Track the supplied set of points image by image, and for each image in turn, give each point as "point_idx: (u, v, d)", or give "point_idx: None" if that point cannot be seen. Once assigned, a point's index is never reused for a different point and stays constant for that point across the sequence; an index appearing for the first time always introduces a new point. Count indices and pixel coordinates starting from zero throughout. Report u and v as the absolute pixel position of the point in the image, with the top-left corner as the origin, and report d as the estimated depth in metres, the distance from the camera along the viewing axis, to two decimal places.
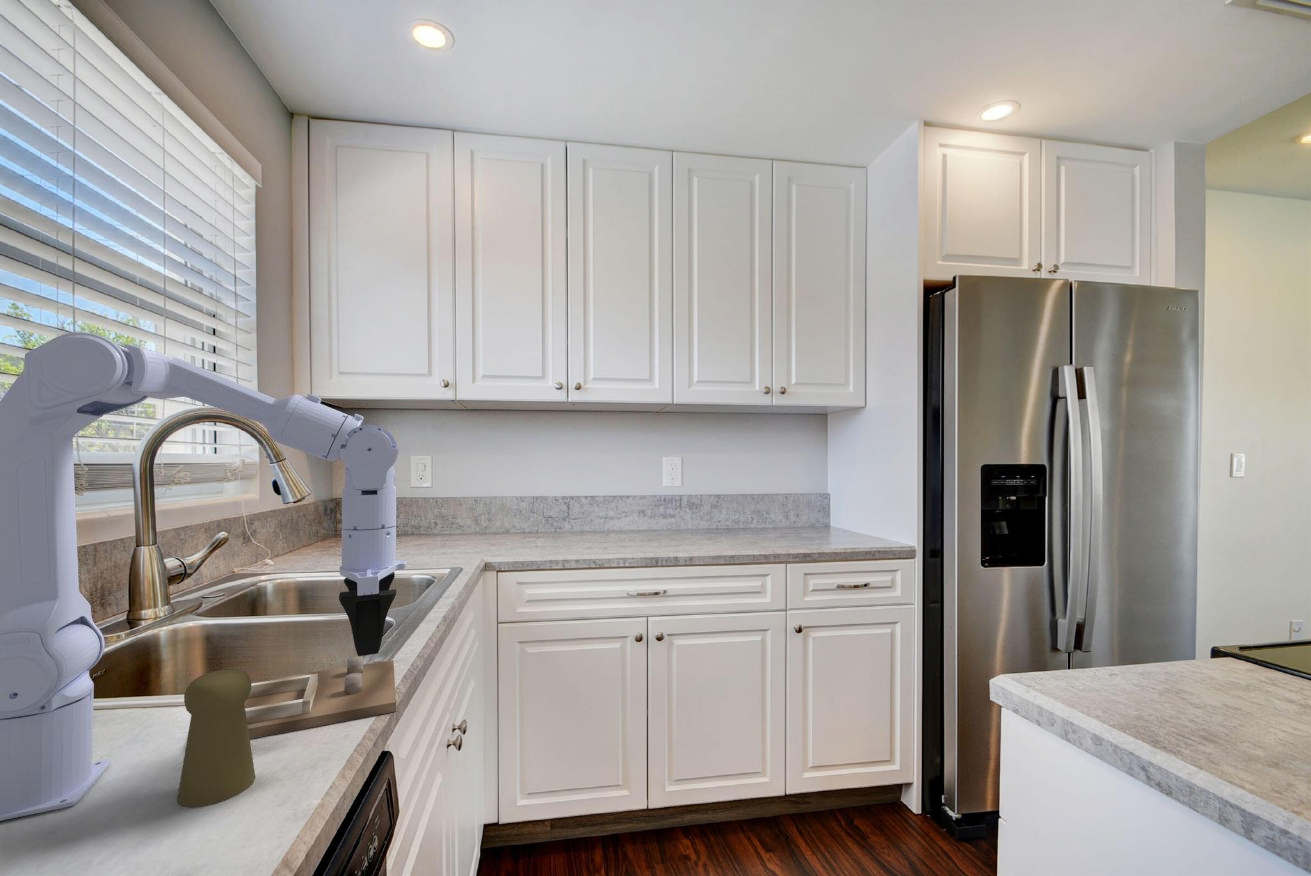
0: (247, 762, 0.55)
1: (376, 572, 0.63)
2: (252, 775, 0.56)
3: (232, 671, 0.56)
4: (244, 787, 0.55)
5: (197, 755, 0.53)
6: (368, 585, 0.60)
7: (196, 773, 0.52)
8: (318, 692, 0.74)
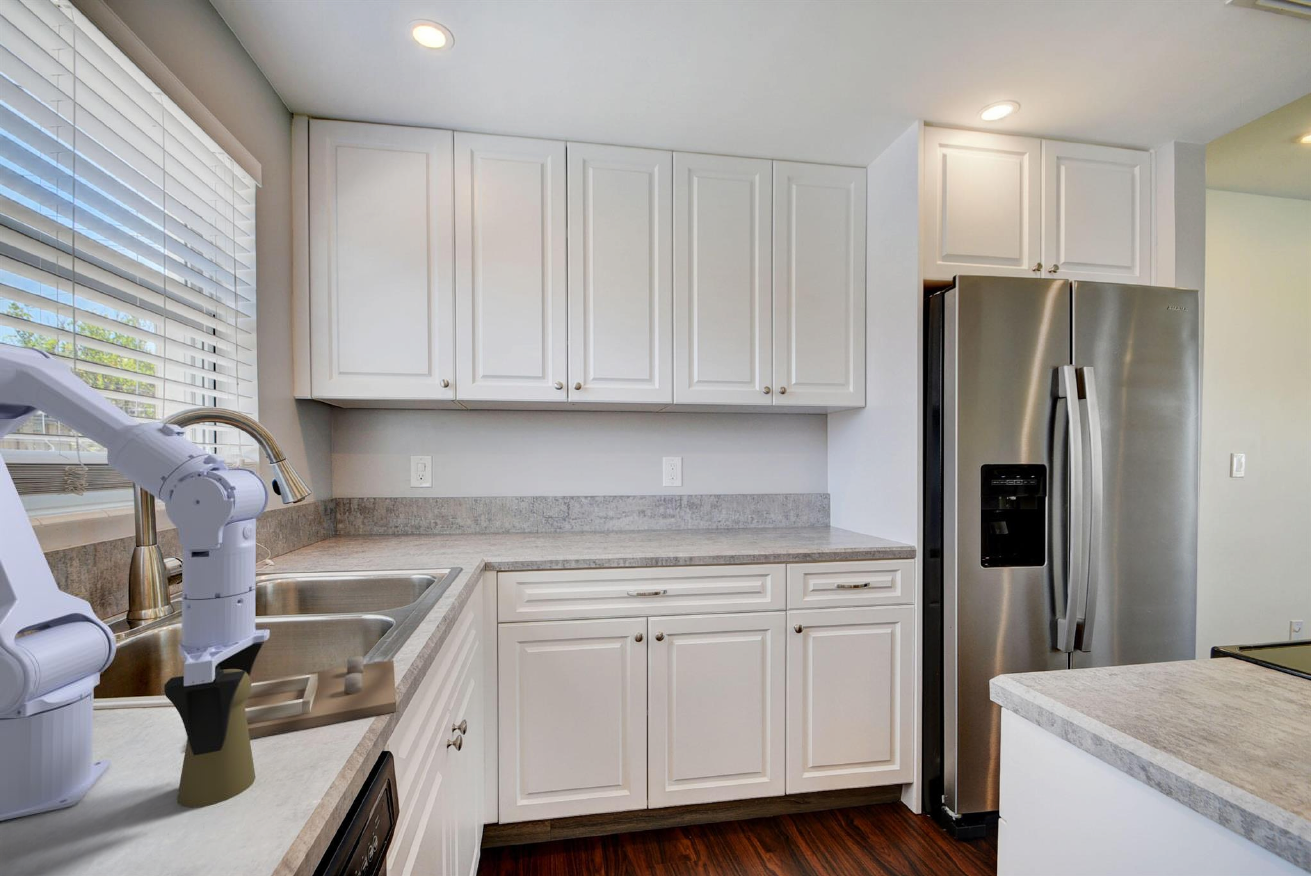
0: (247, 762, 0.55)
1: (217, 652, 0.52)
2: (252, 775, 0.56)
3: (232, 671, 0.56)
4: (244, 787, 0.55)
5: (197, 755, 0.53)
6: (198, 672, 0.49)
7: (196, 773, 0.52)
8: (318, 692, 0.74)
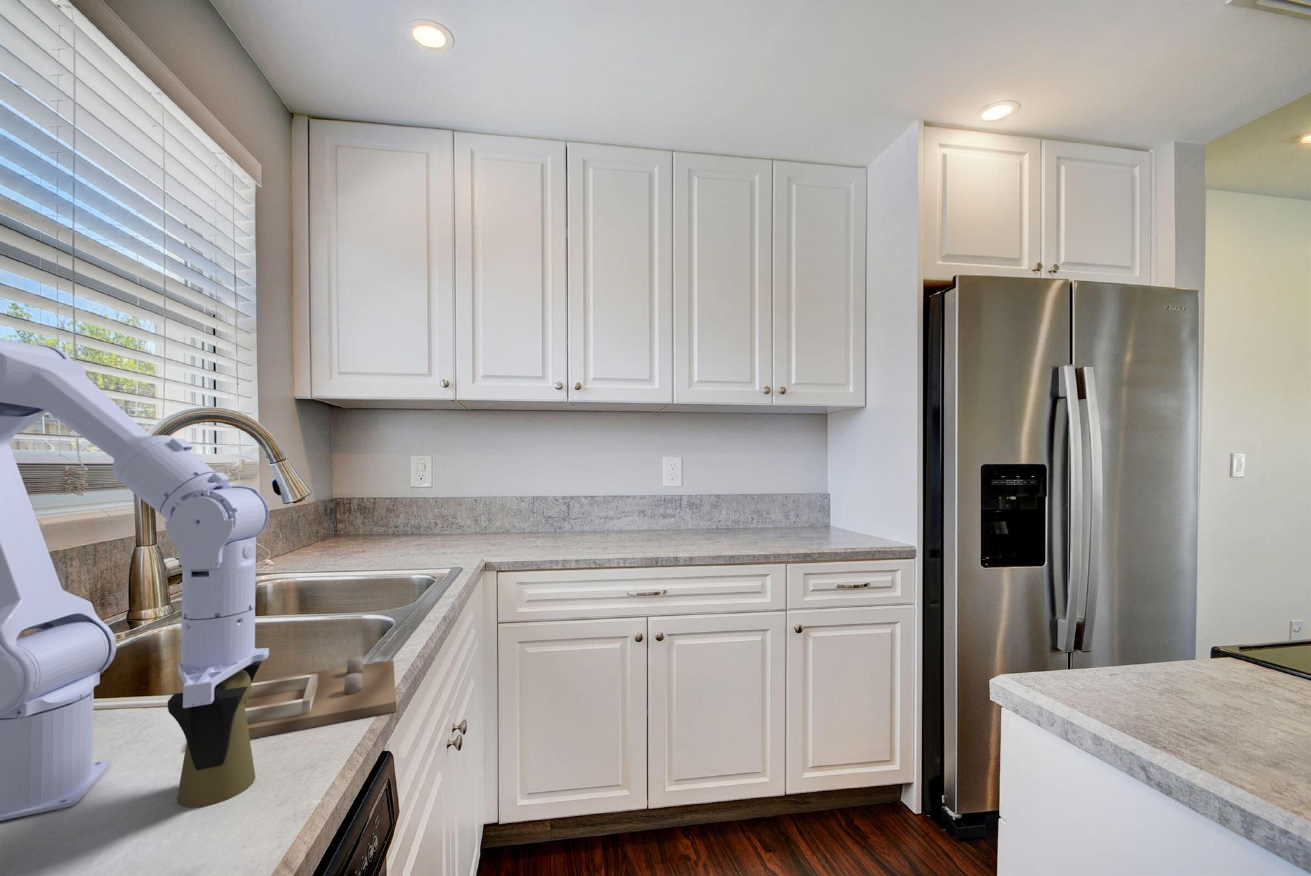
0: (247, 761, 0.55)
1: (216, 673, 0.51)
2: (252, 775, 0.56)
3: None
4: (244, 787, 0.55)
5: None
6: (198, 694, 0.49)
7: (196, 773, 0.52)
8: (318, 692, 0.74)
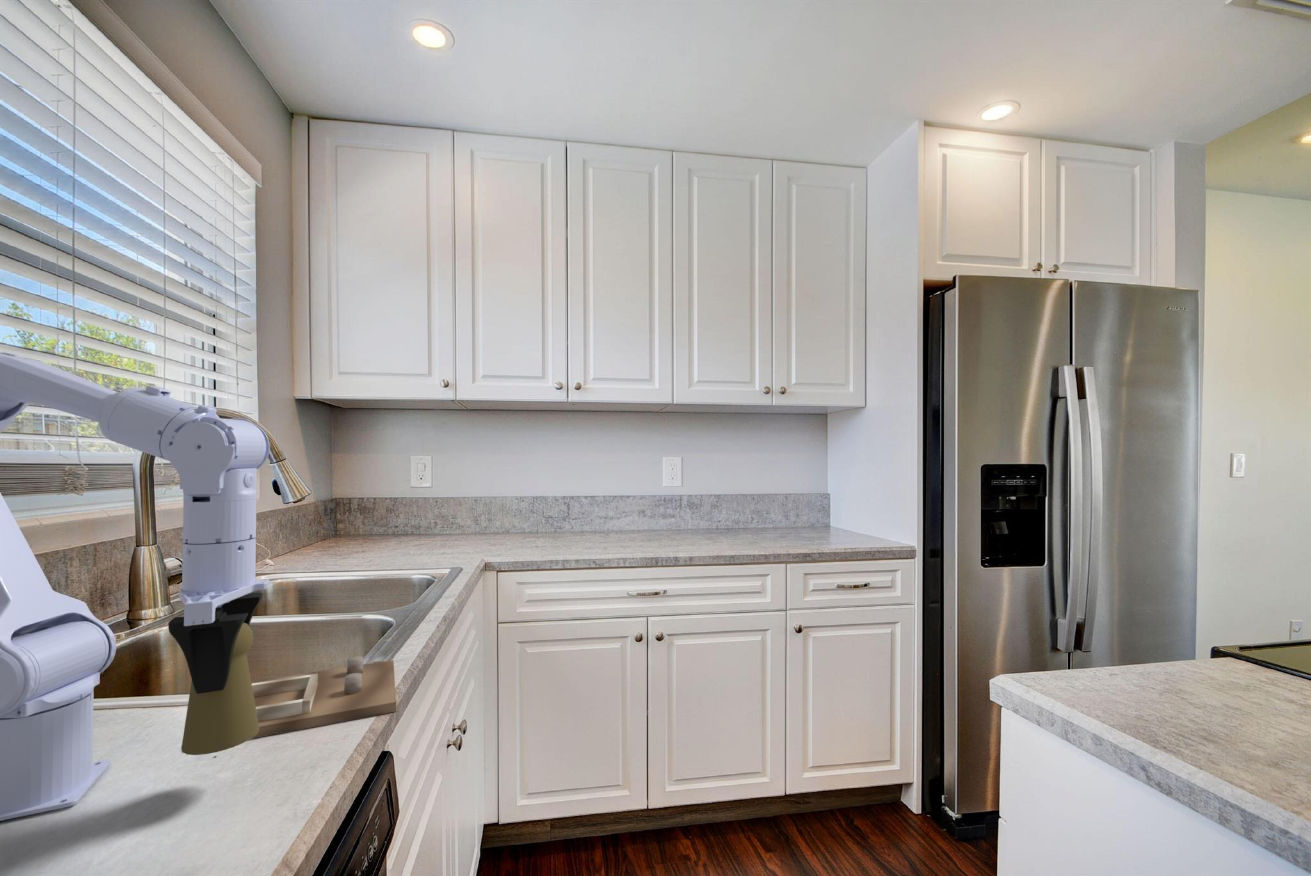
0: (250, 712, 0.56)
1: (217, 596, 0.52)
2: (256, 726, 0.56)
3: None
4: (249, 736, 0.55)
5: (201, 704, 0.53)
6: (198, 613, 0.49)
7: (200, 721, 0.53)
8: (318, 692, 0.74)
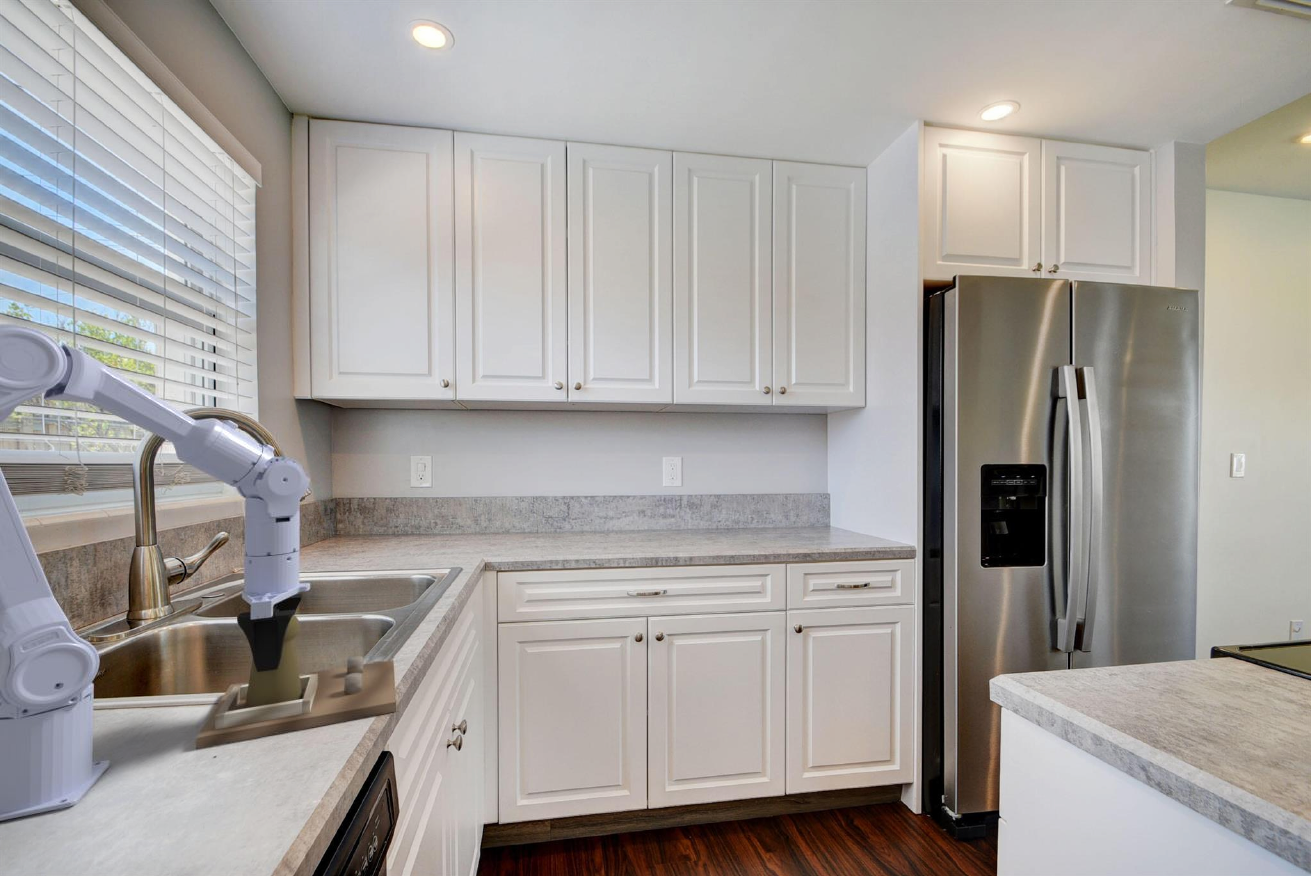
0: (297, 684, 0.71)
1: (273, 596, 0.67)
2: (301, 695, 0.71)
3: None
4: None
5: (261, 676, 0.68)
6: (261, 609, 0.64)
7: (260, 690, 0.68)
8: (318, 692, 0.74)
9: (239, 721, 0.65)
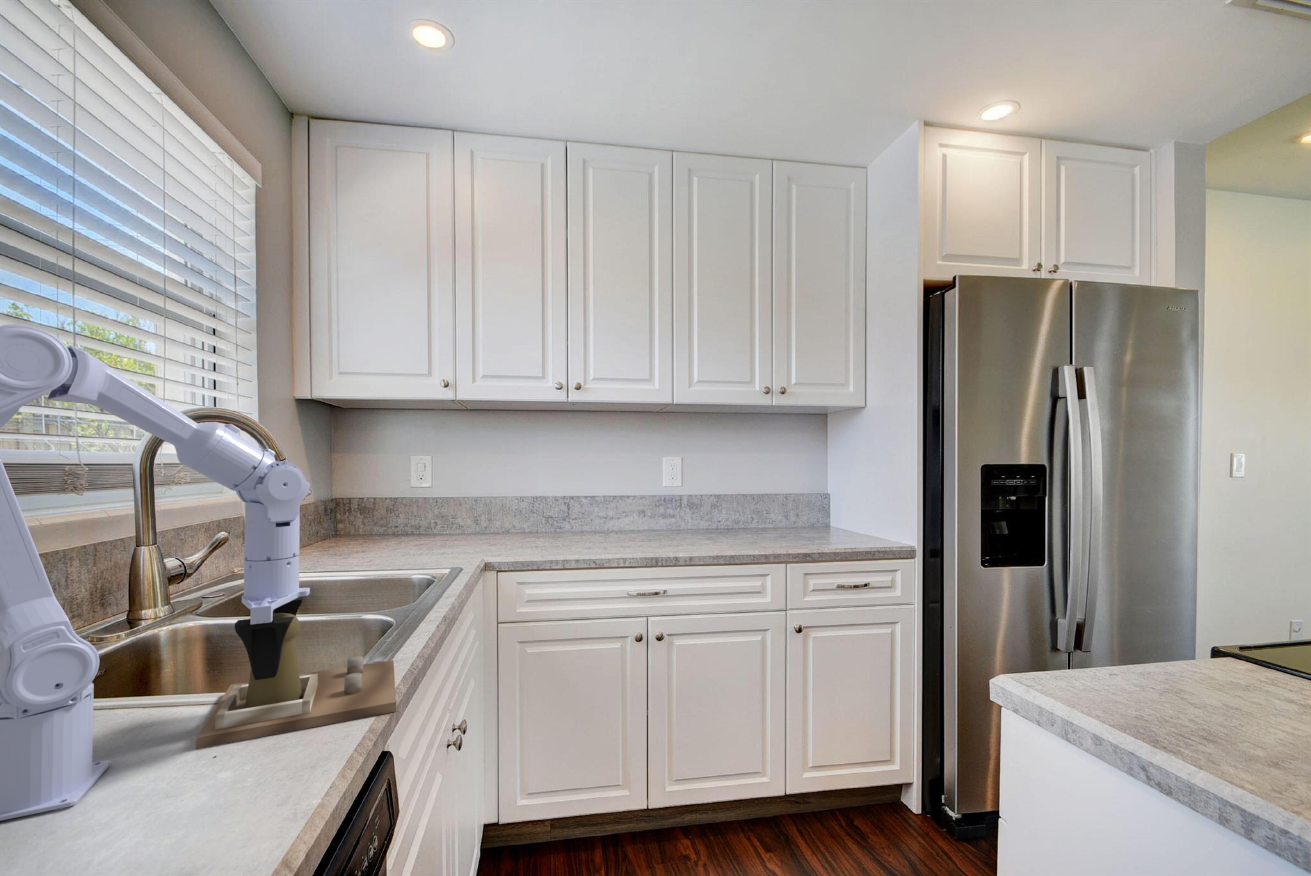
0: (297, 684, 0.71)
1: (273, 601, 0.67)
2: (301, 695, 0.71)
3: (285, 614, 0.71)
4: None
5: None
6: (261, 614, 0.64)
7: (260, 690, 0.68)
8: (318, 692, 0.74)
9: (239, 721, 0.65)
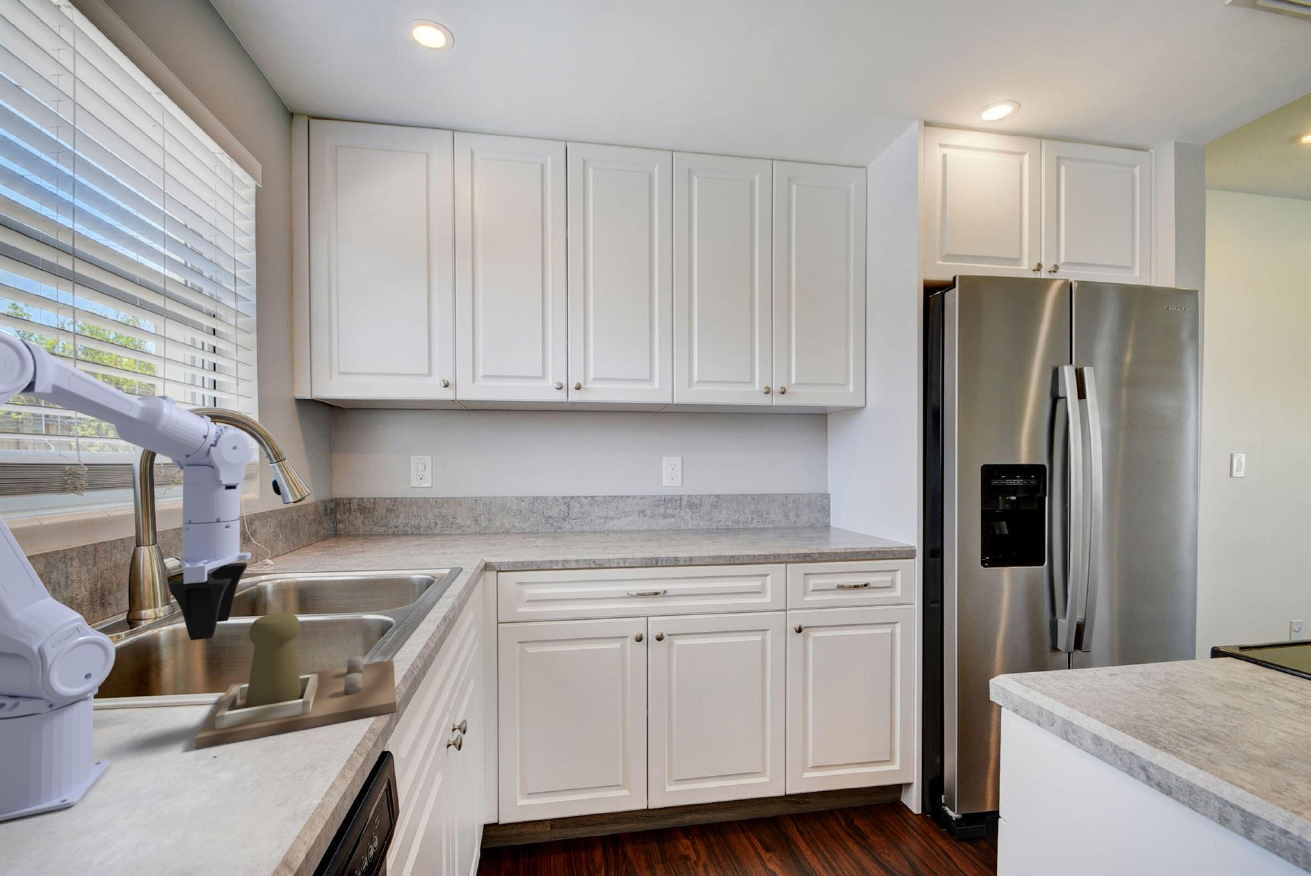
0: (297, 684, 0.71)
1: (209, 562, 0.67)
2: (301, 695, 0.71)
3: (285, 614, 0.71)
4: None
5: (261, 676, 0.68)
6: (194, 574, 0.65)
7: (260, 690, 0.68)
8: (318, 692, 0.74)
9: (239, 721, 0.65)
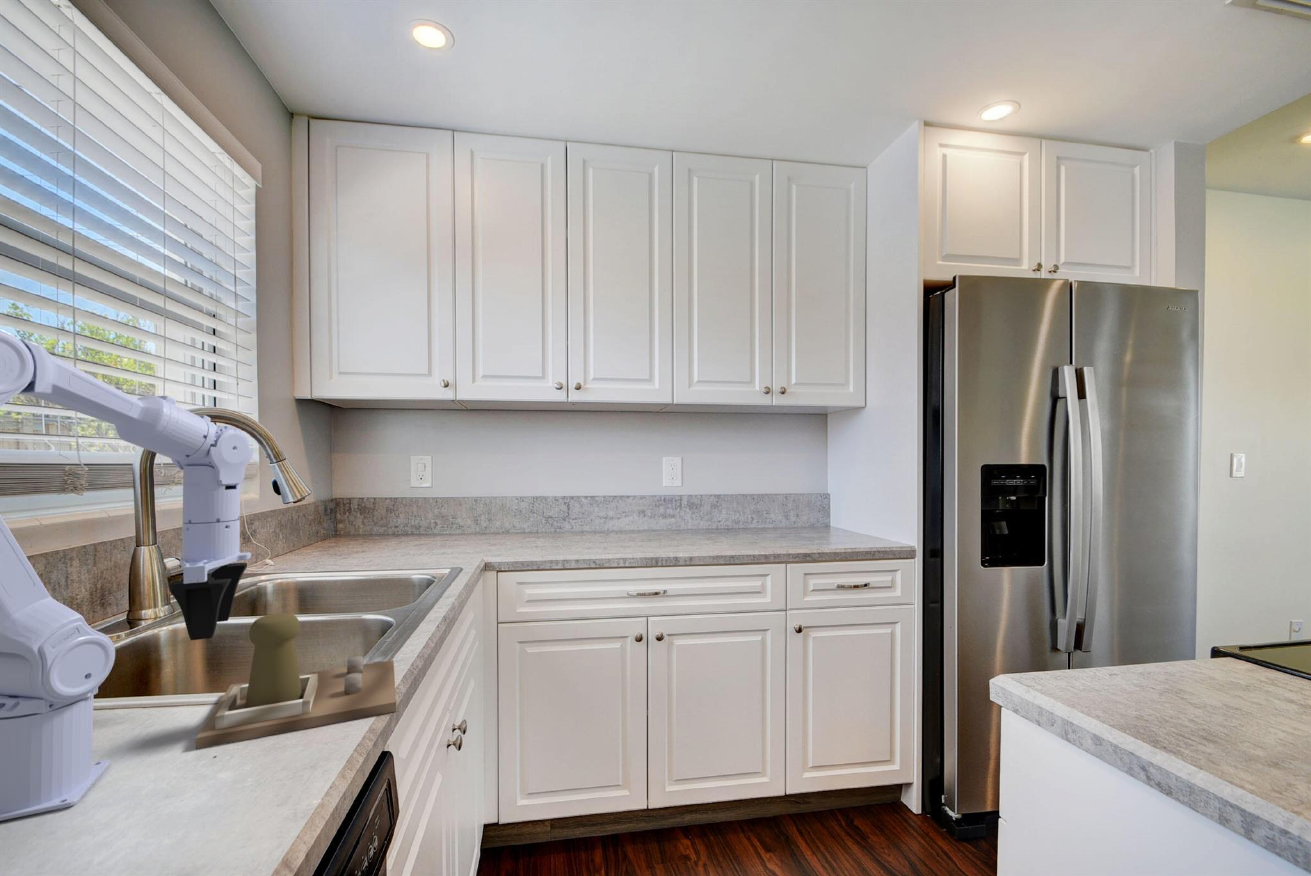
0: (297, 684, 0.71)
1: (209, 562, 0.67)
2: (301, 695, 0.71)
3: (285, 614, 0.71)
4: None
5: (261, 676, 0.68)
6: (194, 574, 0.65)
7: (260, 690, 0.68)
8: (318, 692, 0.74)
9: (239, 721, 0.65)
